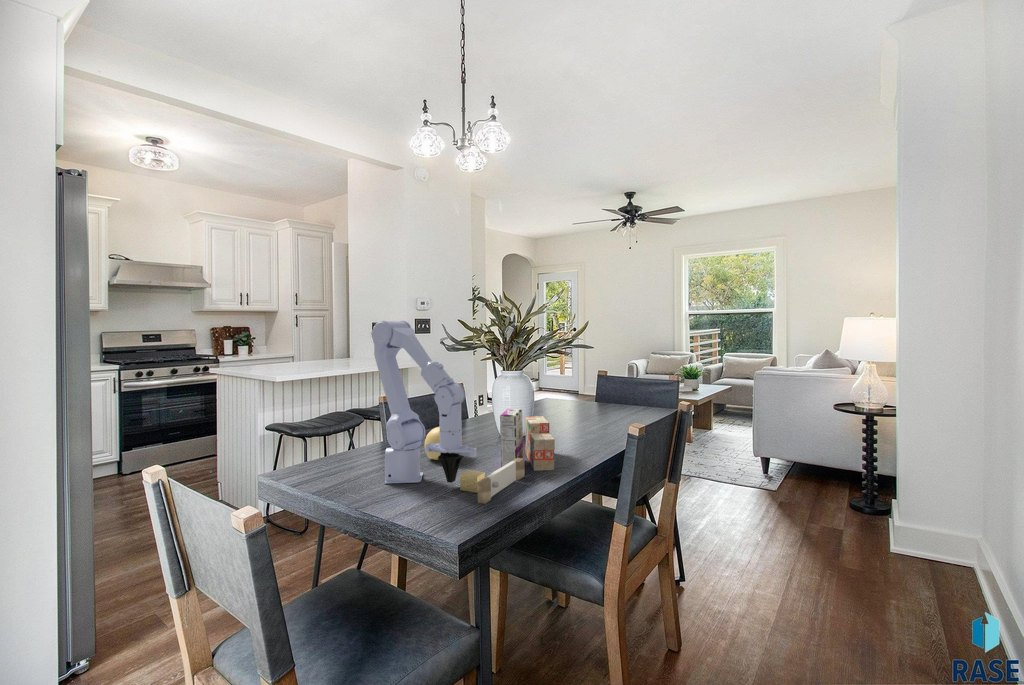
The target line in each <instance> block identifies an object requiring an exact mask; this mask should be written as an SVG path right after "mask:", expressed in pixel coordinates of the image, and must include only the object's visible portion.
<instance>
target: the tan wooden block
mask: <svg viewBox="0 0 1024 685" xmlns="http://www.w3.org/2000/svg"><path fill="white" fill-rule="evenodd" d="M483 478H486V472H485V471H478V470H471V469H467V470H465V471H463V472H462V473H460V474H459V486H460V487H459V488H460V492H463V493H468V494H476V495H478V481H480V480H481V479H483Z"/></svg>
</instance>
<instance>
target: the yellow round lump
mask: <svg viewBox="0 0 1024 685" xmlns="http://www.w3.org/2000/svg"><path fill="white" fill-rule="evenodd" d="M429 443H433V444H440V426H437V427H434V428H433V429H431V430H430V431H429V432H428V433H427V435H425V438H424V451H425V454H426V455H427V457H428V458H429V459H431V460H436V461H439V460H438V456H440V454H441V453H437V452H426V445H427V444H429Z"/></svg>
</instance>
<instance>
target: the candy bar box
mask: <svg viewBox="0 0 1024 685" xmlns="http://www.w3.org/2000/svg"><path fill="white" fill-rule="evenodd" d="M499 420H500V424H499V425H500V426H499V427H500V429H499V431H500V434H499V435H500V461H501V462H500V468H501V467H503V466H504V465H506V464H508V463H510V462H511V461H513V460H515V459H516V458H524V442H523V441H524V436H523V431H524V430H523V429H524V428H523V426H524V425H523V408H507V409H506V410H505V411H504V412H502V413H501V414H500V415H499Z"/></svg>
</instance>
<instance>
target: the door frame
mask: <svg viewBox="0 0 1024 685" xmlns="http://www.w3.org/2000/svg"><path fill="white" fill-rule="evenodd" d="M513 461H515V462H516V480H515V481H520V480H521V479H522V478H524V477H526V476H525V458H524V457H523V458H516V459H515V460H513ZM491 500H492V497H491V479H486V477H485V478H483V479H481V480H480V481H478V494H477V503H479V504H484V505H485V504H487V503H488V502H490V501H491Z"/></svg>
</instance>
